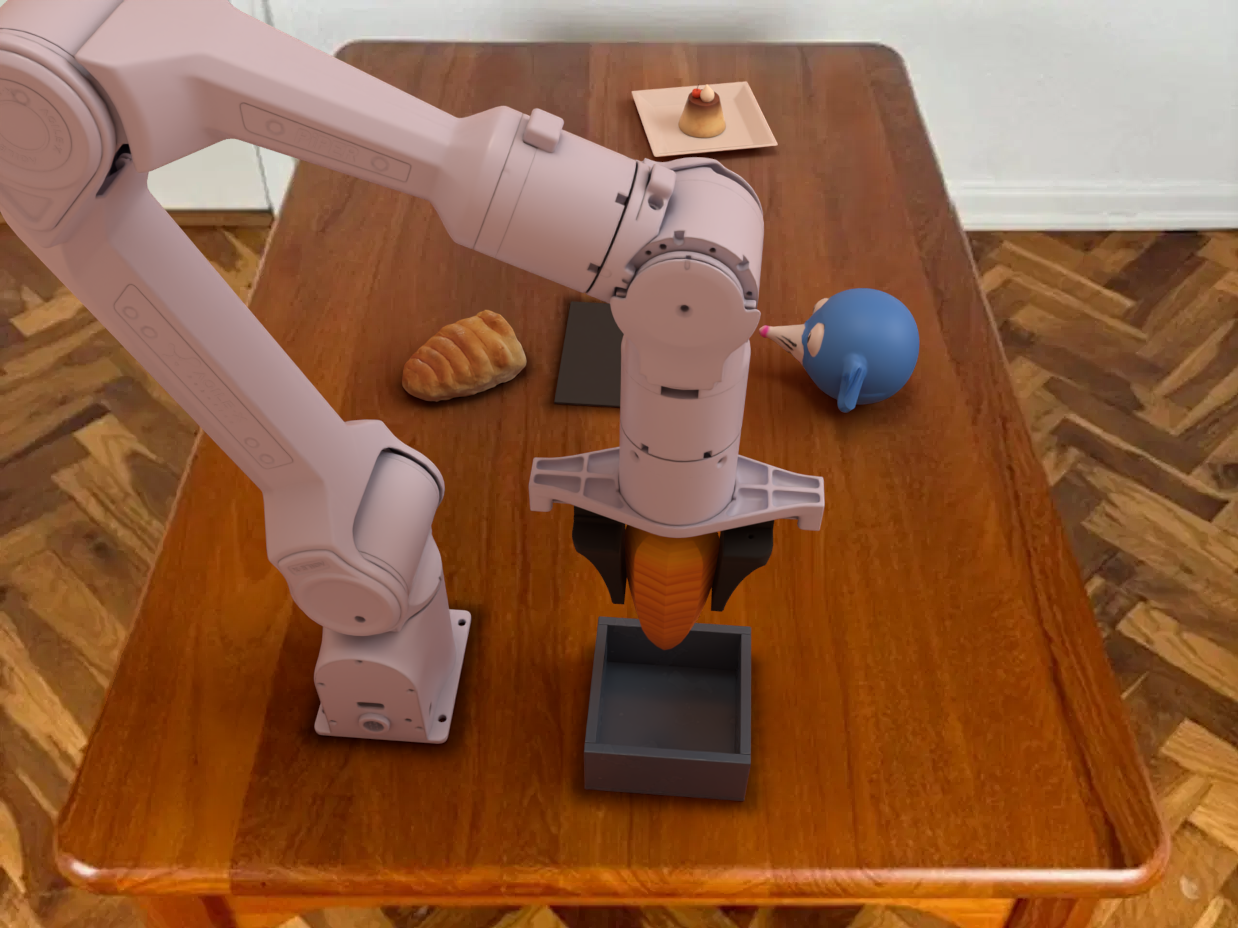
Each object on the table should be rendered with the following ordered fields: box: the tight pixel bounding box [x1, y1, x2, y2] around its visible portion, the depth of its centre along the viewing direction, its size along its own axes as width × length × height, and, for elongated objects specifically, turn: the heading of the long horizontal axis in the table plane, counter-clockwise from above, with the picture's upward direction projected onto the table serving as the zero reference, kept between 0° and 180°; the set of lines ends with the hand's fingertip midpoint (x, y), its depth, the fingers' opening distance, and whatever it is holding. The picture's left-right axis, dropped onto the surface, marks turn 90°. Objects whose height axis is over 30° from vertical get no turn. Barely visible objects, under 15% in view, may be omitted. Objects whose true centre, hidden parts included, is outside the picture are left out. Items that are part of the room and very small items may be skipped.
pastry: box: [401, 309, 527, 403], centre depth 91 cm, size 9×7×4 cm
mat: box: [553, 300, 624, 409], centre depth 94 cm, size 12×10×1 cm
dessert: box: [631, 80, 779, 158], centre depth 116 cm, size 12×12×5 cm
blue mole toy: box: [758, 287, 920, 414], centre depth 89 cm, size 12×12×8 cm
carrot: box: [625, 524, 720, 650], centre depth 64 cm, size 5×5×15 cm
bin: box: [583, 615, 752, 802], centre depth 70 cm, size 9×9×4 cm
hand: (669, 593), depth 66 cm, fingers closed on carrot, 5 cm apart
